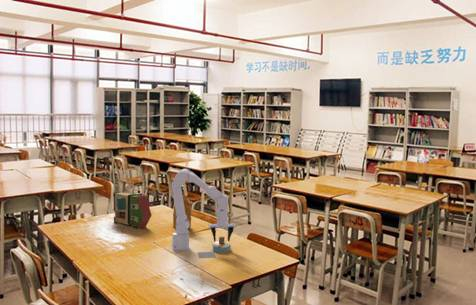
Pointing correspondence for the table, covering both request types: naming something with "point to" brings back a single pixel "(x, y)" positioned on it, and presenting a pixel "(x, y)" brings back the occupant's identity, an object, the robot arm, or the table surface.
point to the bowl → (221, 249)
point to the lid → (221, 243)
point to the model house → (131, 209)
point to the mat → (206, 254)
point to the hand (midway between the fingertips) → (221, 240)
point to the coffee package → (187, 211)
